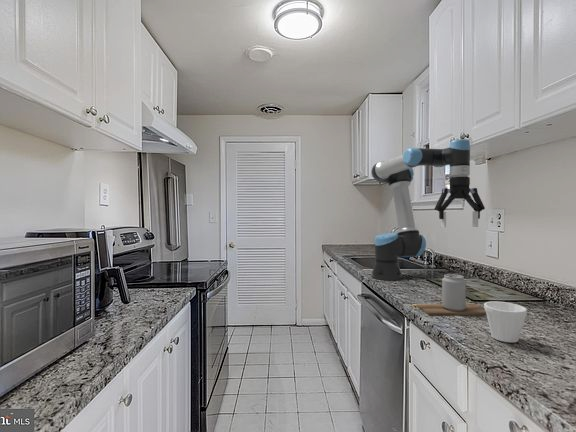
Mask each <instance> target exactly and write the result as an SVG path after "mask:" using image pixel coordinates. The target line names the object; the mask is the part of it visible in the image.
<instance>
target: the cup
mask: <svg viewBox="0 0 576 432" xmlns="http://www.w3.org/2000/svg"><path fill="white" fill-rule="evenodd" d="M483 308H484V309H485V311H486V314H487V315H486V317H487V322H488V326H489V329H490V330H489V331H490V335H491V338H492V339H493V340H496V341H497V342H500V343H505V344H516V343H518V342H519V339H520V337H521V333H522V330H523V327H524V323H525V320H526V317H527V316H528V315H527V314H528V309H527V308H526V307H524V306H523V305H519V304H516V303H512V302H506V301H495V300H494V301H487V302H484V304H483Z"/></svg>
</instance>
